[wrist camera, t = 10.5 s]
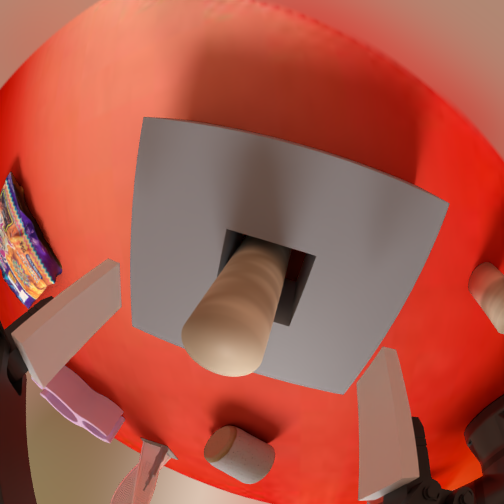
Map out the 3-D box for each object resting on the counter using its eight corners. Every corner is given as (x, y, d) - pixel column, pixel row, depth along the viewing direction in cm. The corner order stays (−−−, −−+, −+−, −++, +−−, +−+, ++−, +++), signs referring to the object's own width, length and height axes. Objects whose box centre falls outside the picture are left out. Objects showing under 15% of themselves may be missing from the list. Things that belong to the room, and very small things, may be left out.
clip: (121, 401, 40) (103, 427, 33) (127, 426, 45) (113, 449, 39) (46, 350, 41) (27, 369, 35) (59, 382, 47) (43, 400, 40)
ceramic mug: (238, 417, 32) (222, 462, 26) (280, 440, 33) (270, 482, 27) (199, 430, 37) (183, 466, 30) (237, 451, 38) (225, 486, 31)
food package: (84, 285, 30) (62, 302, 26) (31, 316, 39) (17, 328, 35) (21, 145, 24) (-3, 150, 20) (-15, 222, 33) (-30, 229, 29)
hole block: (414, 184, 17) (449, 203, 12) (341, 346, 24) (343, 394, 19) (186, 120, 19) (143, 117, 14) (164, 290, 26) (132, 326, 21)
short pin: (500, 268, 17) (532, 300, 12) (484, 299, 19) (510, 336, 14) (479, 257, 18) (513, 290, 12) (462, 291, 19) (489, 330, 14)
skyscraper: (180, 460, 47) (138, 550, 22) (151, 451, 49) (107, 534, 24) (167, 445, 44) (117, 544, 19) (137, 435, 46) (85, 525, 21)
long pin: (298, 228, 21) (273, 331, 10) (285, 269, 22) (252, 385, 11) (253, 215, 21) (184, 300, 10) (243, 256, 23) (179, 359, 12)
